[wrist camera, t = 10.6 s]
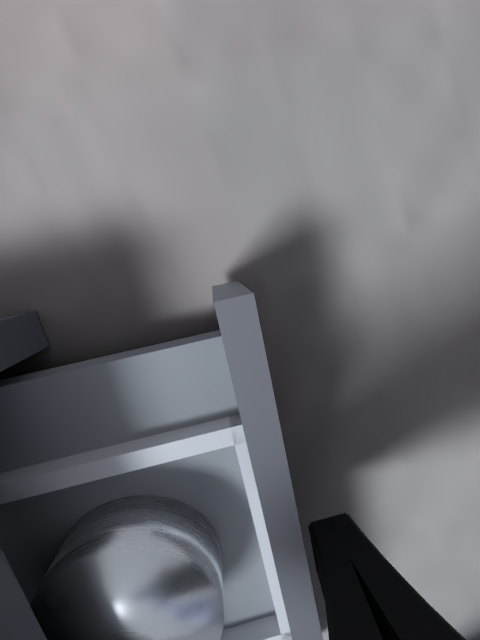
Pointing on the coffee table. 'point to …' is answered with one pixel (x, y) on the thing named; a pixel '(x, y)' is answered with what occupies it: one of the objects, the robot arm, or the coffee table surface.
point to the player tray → (164, 461)
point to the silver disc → (135, 575)
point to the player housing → (3, 589)
